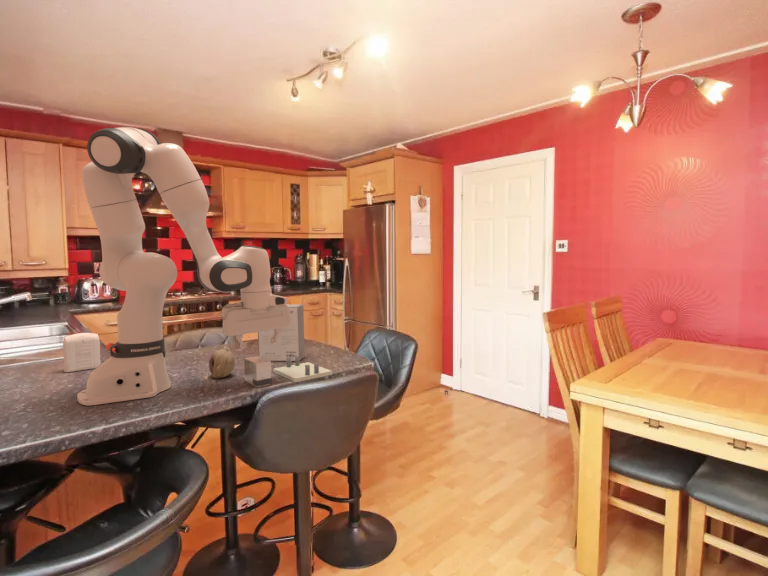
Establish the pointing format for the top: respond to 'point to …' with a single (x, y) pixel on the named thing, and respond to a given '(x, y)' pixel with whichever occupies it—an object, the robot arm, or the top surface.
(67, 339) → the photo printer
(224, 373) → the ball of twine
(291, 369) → the pin tray
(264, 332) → the hard drive box
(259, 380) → the block
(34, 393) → the top surface
